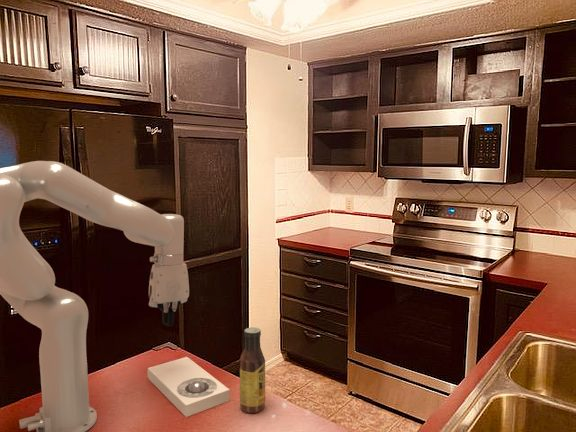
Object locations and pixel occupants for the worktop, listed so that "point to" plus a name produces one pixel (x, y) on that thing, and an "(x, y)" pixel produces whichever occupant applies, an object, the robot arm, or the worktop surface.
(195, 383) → the ball
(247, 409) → the sauce bottle
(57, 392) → the robot arm
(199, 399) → the deck
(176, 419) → the worktop surface
